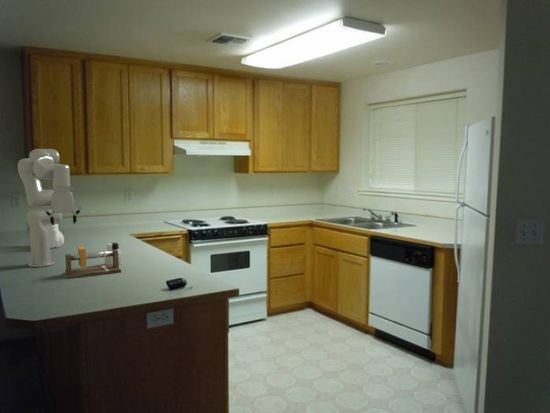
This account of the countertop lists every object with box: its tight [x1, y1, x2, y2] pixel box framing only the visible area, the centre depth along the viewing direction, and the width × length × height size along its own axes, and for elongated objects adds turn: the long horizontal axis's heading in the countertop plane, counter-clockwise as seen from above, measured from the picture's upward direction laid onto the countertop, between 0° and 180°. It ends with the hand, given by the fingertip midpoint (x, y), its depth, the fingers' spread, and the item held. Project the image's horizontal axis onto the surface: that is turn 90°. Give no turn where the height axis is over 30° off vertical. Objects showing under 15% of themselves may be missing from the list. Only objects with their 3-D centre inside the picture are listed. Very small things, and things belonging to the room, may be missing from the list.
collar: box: [77, 246, 87, 268], centre depth 236 cm, size 9×2×9 cm, turn 30°
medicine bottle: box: [104, 242, 123, 266], centre depth 257 cm, size 7×7×12 cm
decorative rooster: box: [44, 224, 65, 249], centre depth 307 cm, size 25×16×25 cm, turn 21°
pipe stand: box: [64, 250, 122, 280], centre depth 238 cm, size 15×25×11 cm, turn 120°
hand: (63, 224), depth 229 cm, fingers open, 9 cm apart
